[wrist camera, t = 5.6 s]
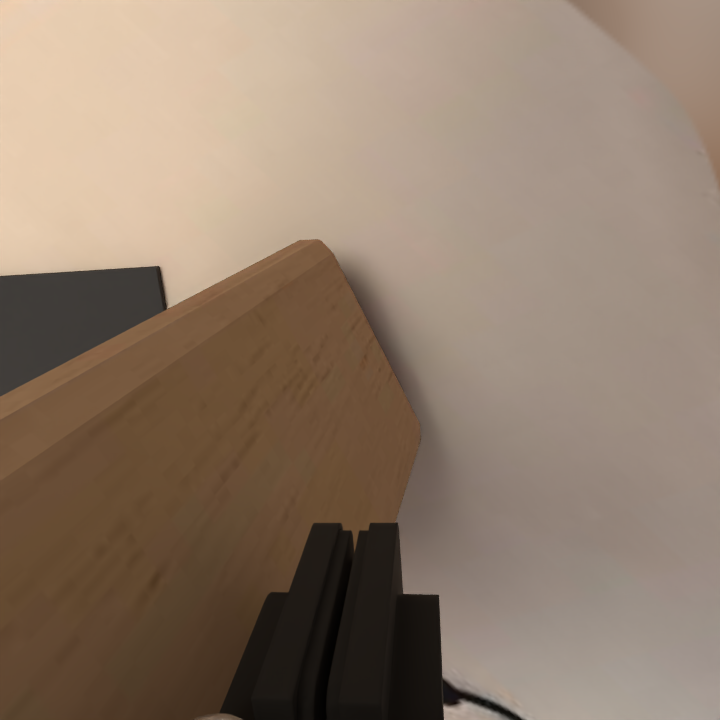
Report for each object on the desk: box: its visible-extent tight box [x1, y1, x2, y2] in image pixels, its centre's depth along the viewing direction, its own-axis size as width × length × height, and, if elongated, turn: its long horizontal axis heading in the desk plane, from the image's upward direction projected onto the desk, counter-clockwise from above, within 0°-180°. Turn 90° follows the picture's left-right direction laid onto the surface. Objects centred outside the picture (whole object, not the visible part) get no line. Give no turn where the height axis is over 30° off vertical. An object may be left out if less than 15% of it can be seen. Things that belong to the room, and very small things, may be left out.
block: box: [0, 239, 421, 720], centre depth 16 cm, size 10×10×20 cm
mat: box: [0, 266, 166, 397], centre depth 28 cm, size 12×14×1 cm
